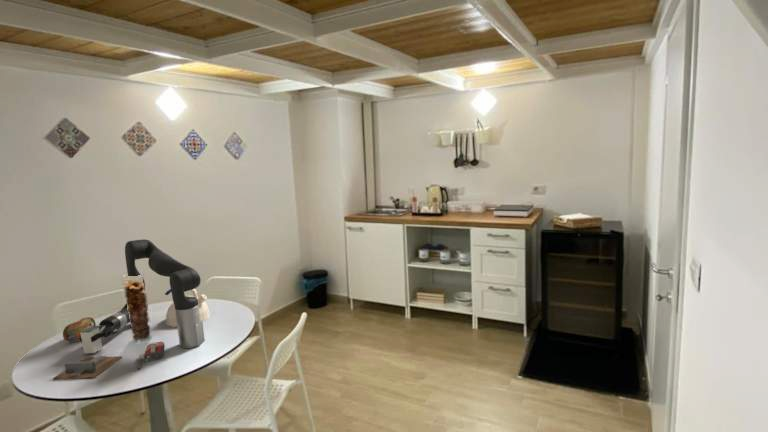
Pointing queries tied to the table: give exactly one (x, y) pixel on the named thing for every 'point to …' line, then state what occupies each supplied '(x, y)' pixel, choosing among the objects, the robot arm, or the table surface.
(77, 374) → the rail
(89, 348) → the block
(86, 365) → the block
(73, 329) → the tin
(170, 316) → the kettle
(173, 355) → the table surface
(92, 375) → the mounting board
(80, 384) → the table surface
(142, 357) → the walkie-talkie
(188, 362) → the table surface
